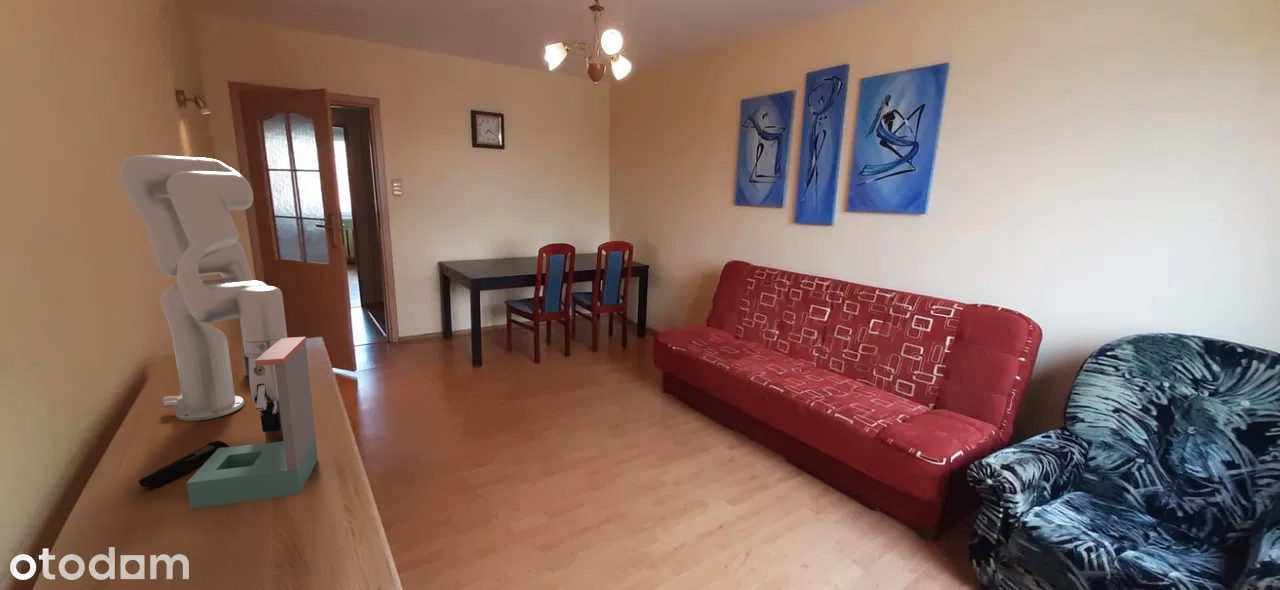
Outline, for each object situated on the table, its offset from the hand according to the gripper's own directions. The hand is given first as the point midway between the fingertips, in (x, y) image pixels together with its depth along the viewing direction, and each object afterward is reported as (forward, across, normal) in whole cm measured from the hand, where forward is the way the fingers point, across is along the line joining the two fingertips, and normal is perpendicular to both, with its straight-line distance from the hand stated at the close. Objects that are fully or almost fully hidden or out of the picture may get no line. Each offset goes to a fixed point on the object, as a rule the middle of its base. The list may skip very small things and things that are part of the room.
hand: (275, 424), depth 108 cm
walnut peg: (+3, 0, 0) cm, 3 cm away
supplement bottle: (+3, +45, +18) cm, 48 cm away
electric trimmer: (+4, -9, +12) cm, 15 cm away
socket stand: (+3, -18, -2) cm, 18 cm away
